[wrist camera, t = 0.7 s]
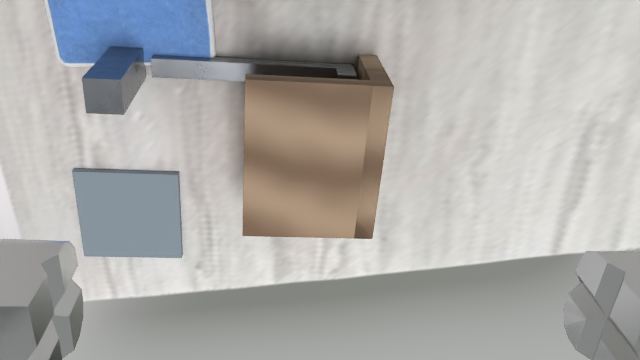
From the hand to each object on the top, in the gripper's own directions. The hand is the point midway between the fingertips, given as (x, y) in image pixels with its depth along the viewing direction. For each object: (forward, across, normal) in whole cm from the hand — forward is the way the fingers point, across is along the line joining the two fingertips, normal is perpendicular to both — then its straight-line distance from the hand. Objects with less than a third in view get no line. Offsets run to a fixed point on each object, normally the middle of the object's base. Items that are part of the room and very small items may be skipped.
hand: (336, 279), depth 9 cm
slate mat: (+39, +13, +22) cm, 47 cm away
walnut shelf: (+39, -3, +13) cm, 41 cm away
